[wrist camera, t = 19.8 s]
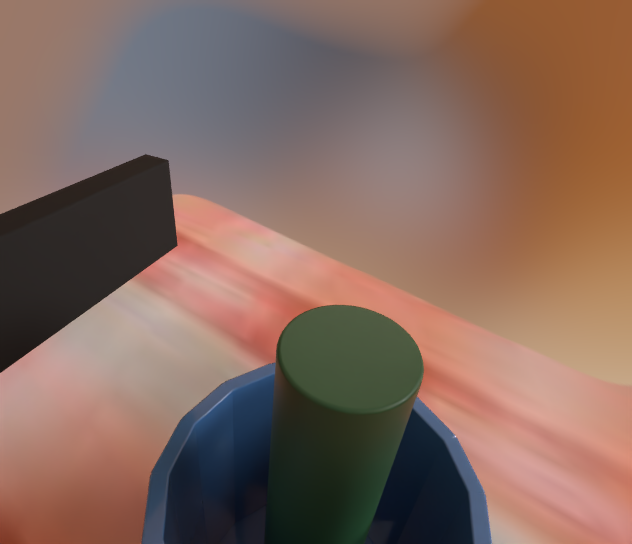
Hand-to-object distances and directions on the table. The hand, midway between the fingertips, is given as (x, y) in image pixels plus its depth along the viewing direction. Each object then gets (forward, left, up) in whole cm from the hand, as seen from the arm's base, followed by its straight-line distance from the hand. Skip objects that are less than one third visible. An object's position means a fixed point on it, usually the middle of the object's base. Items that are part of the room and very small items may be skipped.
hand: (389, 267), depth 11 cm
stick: (+2, +2, -14) cm, 15 cm away
